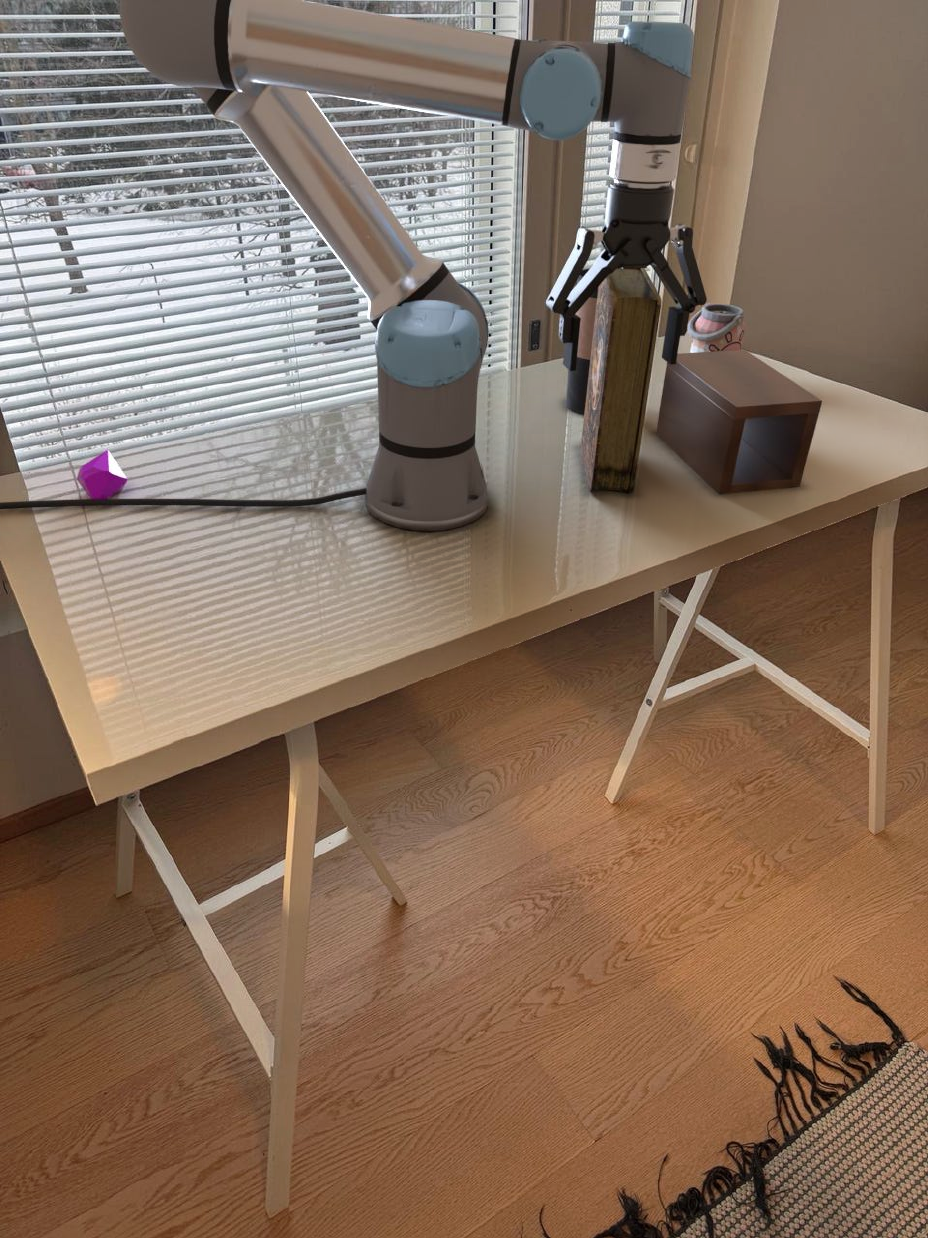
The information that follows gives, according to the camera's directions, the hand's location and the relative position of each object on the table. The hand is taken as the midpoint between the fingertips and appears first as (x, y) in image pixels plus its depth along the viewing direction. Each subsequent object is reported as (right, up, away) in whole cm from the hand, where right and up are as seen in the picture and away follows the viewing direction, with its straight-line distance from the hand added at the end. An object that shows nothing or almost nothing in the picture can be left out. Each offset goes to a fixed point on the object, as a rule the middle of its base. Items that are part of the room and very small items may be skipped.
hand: (619, 364), depth 117 cm
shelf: (+17, -10, +12) cm, 23 cm away
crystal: (-65, -17, -2) cm, 67 cm away
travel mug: (0, +1, +27) cm, 27 cm away
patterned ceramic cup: (+21, +7, +38) cm, 44 cm away
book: (-1, -12, +8) cm, 15 cm away
